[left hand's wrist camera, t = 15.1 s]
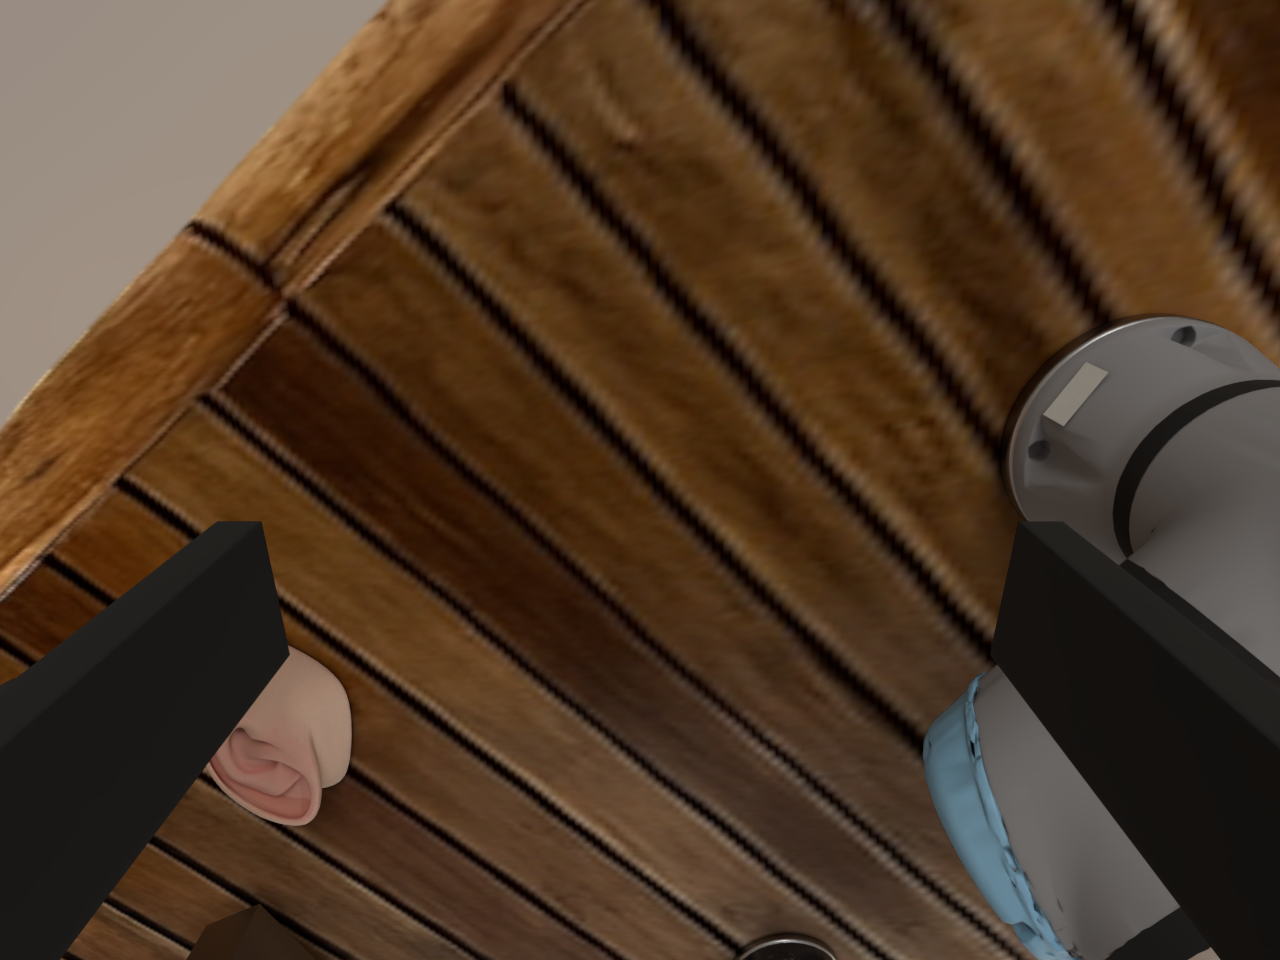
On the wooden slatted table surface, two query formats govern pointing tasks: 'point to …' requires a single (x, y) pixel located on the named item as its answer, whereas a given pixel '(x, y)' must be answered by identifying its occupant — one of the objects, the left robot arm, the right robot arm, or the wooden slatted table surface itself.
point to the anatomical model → (288, 744)
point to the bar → (248, 939)
